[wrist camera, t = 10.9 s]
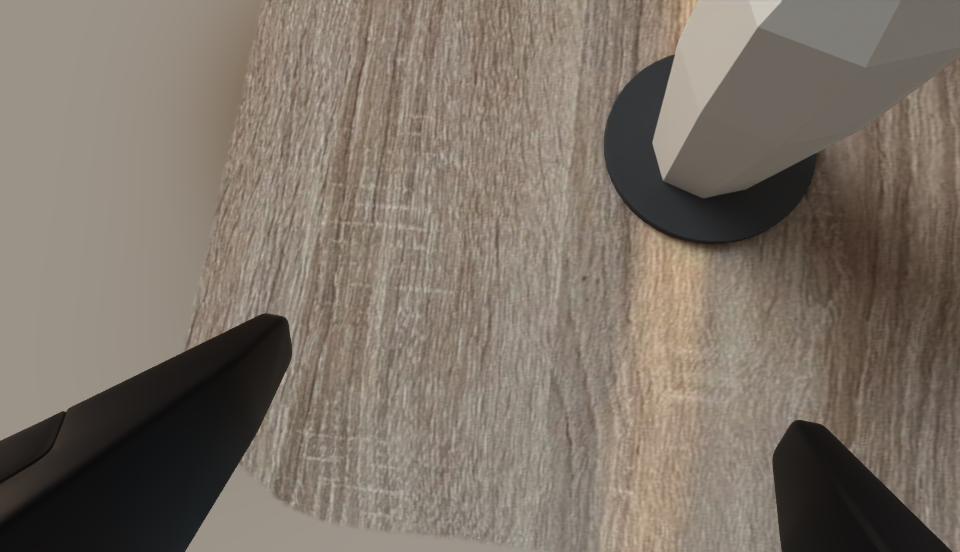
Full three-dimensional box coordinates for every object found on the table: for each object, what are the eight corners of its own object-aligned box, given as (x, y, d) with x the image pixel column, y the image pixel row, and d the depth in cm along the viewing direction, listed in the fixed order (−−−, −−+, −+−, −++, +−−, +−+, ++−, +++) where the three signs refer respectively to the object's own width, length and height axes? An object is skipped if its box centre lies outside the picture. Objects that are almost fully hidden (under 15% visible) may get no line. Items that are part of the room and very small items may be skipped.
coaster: (787, 270, 23) (792, 268, 23) (579, 211, 24) (580, 208, 24) (831, 82, 24) (836, 77, 24) (633, 34, 26) (635, 29, 25)
